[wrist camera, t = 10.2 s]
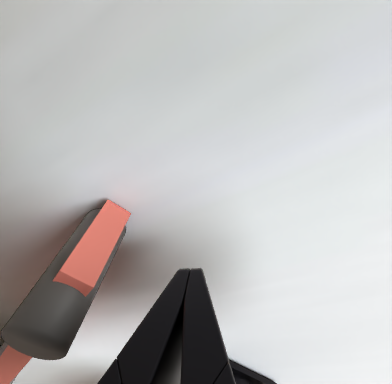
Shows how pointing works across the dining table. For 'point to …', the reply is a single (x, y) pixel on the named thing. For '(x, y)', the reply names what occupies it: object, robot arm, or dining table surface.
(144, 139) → the dining table surface
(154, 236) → the dining table surface
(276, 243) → the dining table surface
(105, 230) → the gate
